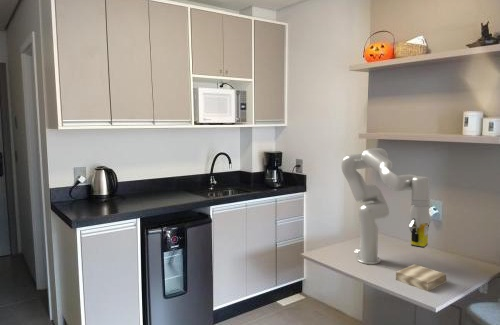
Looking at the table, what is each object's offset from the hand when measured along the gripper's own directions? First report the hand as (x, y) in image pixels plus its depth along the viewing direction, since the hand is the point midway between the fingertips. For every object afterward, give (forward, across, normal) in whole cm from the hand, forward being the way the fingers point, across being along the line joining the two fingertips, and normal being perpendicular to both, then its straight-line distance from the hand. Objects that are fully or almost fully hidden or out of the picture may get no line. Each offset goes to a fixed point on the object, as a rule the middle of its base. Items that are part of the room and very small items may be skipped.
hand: (419, 239), depth 179 cm
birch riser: (+20, -1, +1) cm, 20 cm away
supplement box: (+3, 0, 0) cm, 3 cm away
